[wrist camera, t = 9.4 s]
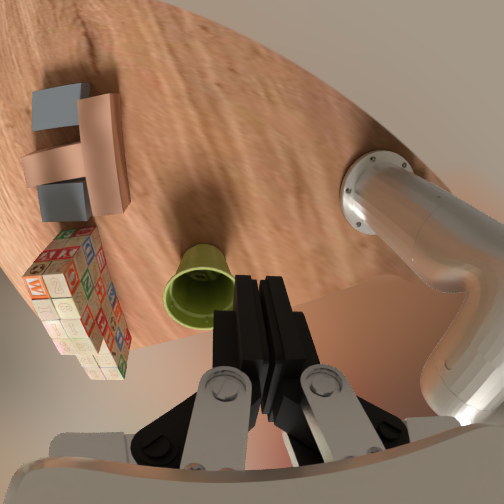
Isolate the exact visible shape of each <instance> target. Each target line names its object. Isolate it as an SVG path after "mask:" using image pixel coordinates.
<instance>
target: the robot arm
mask: <svg viewBox="0 0 504 504" xmlns="http://www.w3.org/2000/svg"><path fill="white" fill-rule="evenodd" d="M370 158H371V159H370ZM346 189H347V190H346ZM340 204H341V209H342V212H343V214H344V216H345V218H346V220H347V221H348V222H349V223H350V224H351V225H352V226H353V227H354V228H355V229H356V230H358V231H360V232H362V233H365V234H371V235H376V234H377V235H378V236H379V237H380V238H381V239H382V240H383V241H384V242H385V243H386V244H387V245H388V246H389V247H390V248H391V249H392V250H393V251H394V252H395V253H396V254H397V255H398V256H399V257H400V258H401V259H402V260H403V261H404V262H405V263H406V264H407V265H408V266H409V267H410V268H411V269H412V270H413V271H414V272H415V273H416V274H417V275H418V276H419V277H420V278H421V279H422V280H423V281H424V282H425V283H426V284H427V285H428V286H430V287H431V288H433V289H435V290H437V291H440V292H445V293H459V292H466V297H465V300H464V302H463V303H462V305H461V307H460V309H459V311H458V313H457V315H456V317H455V318H454V320H453V322H452V323H451V325H450V326H449V328H448V329H447V331H446V333H445V334H444V335H443V337H442V338H441V340H440V341H439V343H438V344H437V346H436V348H435V349H434V351H433V352H432V354H431V355H430V357H429V358H428V360H427V362H426V364H425V366H424V368H423V371H422V375H421V390H422V393H423V396H424V398H425V400H426V401H427V403H428V405H429V406H430V407H431V408H432V409H433V410H434V412H435V413H436V414H438V415H439V416H437V417H416V418H405V420H400V419H399V418H398V417H396V416H394V415H392V414H390V413H388V412H386V411H384V410H382V409H380V408H379V407H377V406H375V405H373V404H371V403H369V402H367V401H366V400H364V399H362V398H360V397H358V396H356V395H355V393H354V391H353V389H352V388H351V386H350V384H349V382H348V381H347V379H346V377H345V376H344V375H343V373H342V372H341V371H339V370H338V369H337V368H334V367H332V366H330V365H325V364H320V362H319V358H318V355H317V353H316V349H315V346H314V343H313V340H312V337H311V334H310V331H309V328H308V325H307V322H306V319H305V316H304V314H303V313H302V312H292V308H291V305H290V302H289V298H288V295H287V292H286V288H285V285H284V282H283V278H282V277H281V276H266V279H265V280H260V285H259V291H258V285H257V280H253V279H251V276H250V275H235V284H234V297H233V310H232V311H229V310H214V317H213V368H212V369H210V370H208V371H207V372H206V373H205V374H204V375H203V376H202V378H201V380H200V382H199V387H198V391H197V392H196V393H195V394H193V395H192V396H190V397H189V398H187V399H186V400H185V401H183V402H182V403H180V404H179V405H177V406H176V407H174V408H173V409H171V410H170V411H168V412H167V413H165V414H164V415H162V416H161V417H159V418H158V419H156V420H155V421H154V422H152V423H150V424H149V425H147V426H146V427H144V428H142V429H141V430H140V431H138V432H137V433H136V434H124V433H123V432H112V433H61V434H59V435H57V436H56V437H54V439H53V440H52V441H51V443H50V448H49V457H46V458H40V459H36V460H32V461H29V462H27V463H25V464H23V465H22V466H21V467H20V468H19V469H18V470H17V471H16V472H15V474H14V476H13V477H12V479H11V482H10V484H9V486H8V489H7V492H6V495H5V499H4V502H3V504H504V224H502V223H500V222H498V221H497V220H495V219H493V218H491V217H490V216H488V215H486V214H485V213H483V212H481V211H479V210H478V209H476V208H475V207H473V206H471V205H470V204H468V203H466V202H465V201H463V200H461V199H459V198H458V197H456V196H454V195H453V194H451V193H449V192H447V191H445V190H444V189H442V188H440V187H438V186H436V185H435V184H433V183H431V182H429V181H427V180H425V179H423V178H421V177H419V176H417V175H415V174H414V172H413V170H412V168H411V166H410V165H409V163H408V162H407V161H406V160H405V159H404V158H403V157H402V156H400V155H398V154H397V153H394V152H392V151H387V150H375V151H371V152H368V153H366V154H364V155H362V156H361V157H360V158H358V159H357V160H356V161H355V162H354V163H353V164H352V165H351V166H350V168H349V170H348V171H347V173H346V174H345V177H344V179H343V181H342V185H341V190H340ZM260 404H261V410H262V414H267V415H268V421H269V422H274V425H276V426H277V427H279V428H280V429H281V430H282V436H283V440H284V442H285V445H286V448H287V451H288V454H289V456H290V459H291V462H292V464H293V467H289V468H279V469H265V470H245V460H246V449H247V438H248V432H249V431H250V429H252V428H253V427H254V426H255V423H256V419H257V415H258V412H259V407H260Z"/></svg>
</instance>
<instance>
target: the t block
mask: <svg viewBox="0 0 504 504" xmlns="http://www.w3.org/2000/svg"><path fill="white" fill-rule="evenodd" d="M77 107H78V120H79V130H80V141H75V142H70V143H66V144H61V145H57V146H53V147H49V148H45V149H41V150H37V151H35V152H32V153H30V154H28V155H26V156H23V157H21V158H22V164H23V170H24V175H25V180H26V185H27V188H29V187H33V186H38V185H43V184H48V183H53V182H58V181H63V180H69V179H75V178H80V177H86V182H87V188H88V193H89V199H90V204H91V209H92V214H93V217H94V216H103V215H112V214H122V213H124V211H125V210H126V208H127V207H128V205H129V204H130V202H131V199H130V192H129V185H128V178H127V170H126V162H125V153H124V143H123V133H122V121H121V106H120V93H109V94H104V95H99V96H94V97H90V98H85V99H81V100H77Z"/></svg>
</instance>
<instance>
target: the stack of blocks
mask: <svg viewBox="0 0 504 504" xmlns="http://www.w3.org/2000/svg"><path fill="white" fill-rule="evenodd" d="M22 278H23V281H24V283H25V285H26V287H27V290H28V292H29V294H30V297H31V298H32V303H33V305H34V307H35V309H36V311H37V313H38V315H39V317H40V319H41V320H42V323H43V325H44V326H45V328H46V330H47V332H48V334H49V335H50V337H51V338H52V340H53V342H54V344H55V345H56V347H57V349H58V350H59V352H60V354H62V355H76V356H77V358H78V360H79V362H80V363H81V365H82V366H83V367H84V369H85V371H86V373H87V375H88V376H89V378H90V379H98V380H106V379H108V380H124V378H125V373H126V368H127V360H128V355H129V349H130V344H131V336H130V334H129V331H128V329H127V325H126V322H125V319H124V316H123V314H122V311H121V308H120V305H119V302H118V299H117V297H116V294H115V291H114V288H113V284H112V282H111V278H110V275H109V272H108V268H107V265H106V260H105V256H104V252H103V249H102V245H101V240H100V236H99V232H98V228H97V226H92V227H85V228H79V229H72V230H65V231H61V232H60V233H59V234H58V235H57V236H56V237H55V238H54V239H53V241H52V242H51V243H50V244H49V245H48V246H47V247H46V249H45V250H44V251H43V252H42V253H41V254H40V255H39V256H38V257H37V259H36V260H35V261H34V262H33V264H32V265H31V267H30V268H29V269H28V270H27V271H26V272H25V274H24V275H23V276H22Z"/></svg>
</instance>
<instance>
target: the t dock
mask: <svg viewBox="0 0 504 504" xmlns="http://www.w3.org/2000/svg"><path fill="white" fill-rule="evenodd" d="M85 98H90V83H76V84H70V85H65V86H59V87H54V88H49V89H44V90H39V91H35V92H33V93H32V129H33V131H38V130H44V129H51V128H58V127H65V126H73V125H79V120H78V107H77V100H81V99H85ZM37 190H38V197H39V204H40V210H41V216H42V222H62V221H87V220H88V219H89V218H90V217H91V216H92V215H93V214H92V209H91V204H90V199H89V193H88V188H87V182H86V177H80V178H75V179H69V180H63V181H58V182H53V183H48V184H43V185H38V186H37Z"/></svg>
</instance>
